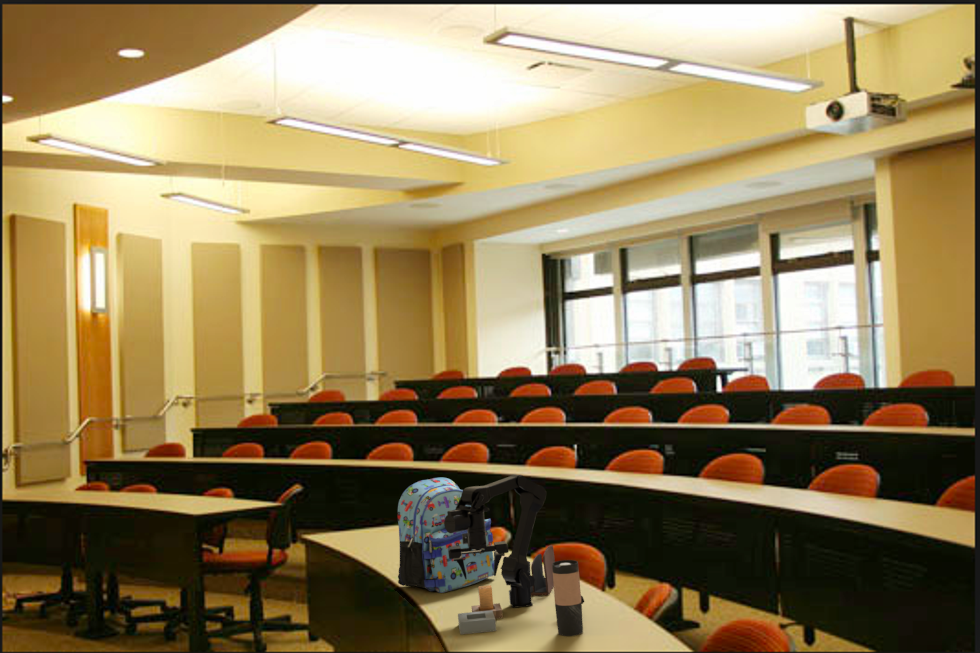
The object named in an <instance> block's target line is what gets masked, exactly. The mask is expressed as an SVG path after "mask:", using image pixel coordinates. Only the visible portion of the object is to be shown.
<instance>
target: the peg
mask: <svg viewBox="0 0 980 653" xmlns="http://www.w3.org/2000/svg"><path fill="white" fill-rule="evenodd" d="M477 590H478V601H479V605H480V611H481V610H491V609H493V604H494V599H493V588H492V585H490V584H489V585H479V586H478V589H477Z"/></svg>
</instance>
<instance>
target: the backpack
mask: <svg viewBox="0 0 980 653" xmlns="http://www.w3.org/2000/svg"><path fill="white" fill-rule="evenodd" d="M463 490H464V489H460V487H459V486H458V484H457V483H455V481H453V480H452V479H450V478H447V477H433V478H430V479H428V478H427V479H422V480H418V481H417V482H414V483H413V484H411V485H409V486H408V487H407V488H406V489H405V490H404V491H403V492H402V494H401V496H400V499H399V500H398V504H397V522H398V524H397V525H398V535H399V536H398V539H399V540H398V541H399V566H398V575H397V578H398V580H397V581H398V582H397V583H398V584H399V585H400V586H403V587H404V586H405V587H417V588H422V589H425V590H426V591H429V592H435V591H436V592H437V593H439V594H440V593H443V594H444V593H449V592H451V591H455V590H459V589H462V588H465V587H468V586H471V585H474V584H476V583H477V584H478V583H479V582H481V581H483V580H485V579H487V578H490V577H493V576H494V551H491V552H481V553H472V554H462V558H463V562H464V566H465V571H466V577H467V579H465V577H464V575H463V572H462V570H461V567H460V566H459V564H458V562H457V561H454V560H453V559H449V556H448V548H449V547H453V546H460V547H461V549H462V548H469V547H468V544H463V540H462V534H465V533H467V530H464V531H460V532H455V533H448V532H447V530H446V529H445V526H444V521H445V517H446V516H447V515H448V514H447V512H448V511H454V510H455V509H456V507H457V504H458V502H459V500H460V498H461V495H462V492H463ZM465 506H467V505H465ZM484 520H485V531H486V542H487V546H490V545H493V543H494V542H493V541H494V538H493V536H494V535H493V532H492V529H491V523H492V520H491V518H487V519H484ZM472 550H474V549H472ZM480 550H484V549H480Z"/></svg>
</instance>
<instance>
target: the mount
mask: <svg viewBox="0 0 980 653" xmlns="http://www.w3.org/2000/svg"><path fill="white" fill-rule="evenodd" d="M470 608H471V612H480V604H478V605H471V607H470ZM491 610H492V611H493V614H494V617H495V620H496V619H499V620H500V619H504V616H503V615H504V614H503V609H502V606H501V603H500V602H498V603H493V609H491ZM481 611H490V610H481Z"/></svg>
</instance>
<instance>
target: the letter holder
mask: <svg viewBox="0 0 980 653" xmlns="http://www.w3.org/2000/svg"><path fill="white" fill-rule="evenodd" d="M554 552H555V550H554V546H553V545H552V544H550V545H549V546H547V547H546V548H545V550H544V553H543V554H542V553H538V554H536V556H535V557H534V559H533V560H532V563H531V562H530V561H529V560H527V561H528V565H529V567H528V573H529V574H530V575H531V576H532V577H533V578H534V579H535V582H534V586H531V587H530V588H531V597H538V596H541V597H542V596H550V593H551V592H552V591H553V590H554V583H553V568H552V563H553V562H556V558H555V553H554ZM542 555H543V556H542Z"/></svg>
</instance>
